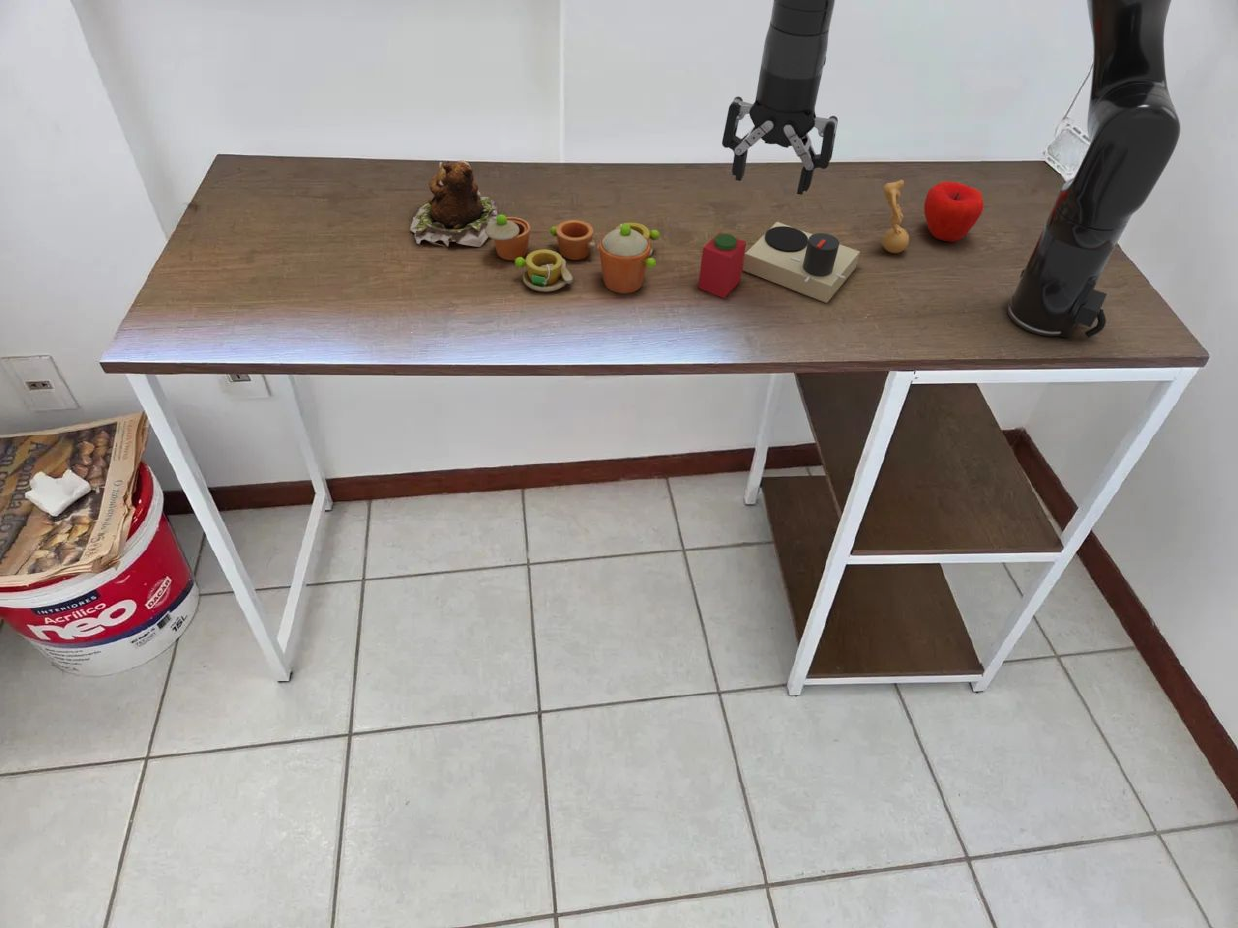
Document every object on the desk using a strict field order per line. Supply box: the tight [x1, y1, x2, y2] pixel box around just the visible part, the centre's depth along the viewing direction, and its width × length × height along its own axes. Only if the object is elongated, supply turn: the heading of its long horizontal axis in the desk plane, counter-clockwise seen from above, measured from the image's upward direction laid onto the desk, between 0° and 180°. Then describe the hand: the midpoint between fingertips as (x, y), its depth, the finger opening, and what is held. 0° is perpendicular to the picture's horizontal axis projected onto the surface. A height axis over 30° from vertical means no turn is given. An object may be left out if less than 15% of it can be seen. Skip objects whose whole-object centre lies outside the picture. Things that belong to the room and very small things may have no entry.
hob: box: [742, 221, 861, 304], centre depth 132 cm, size 15×12×3 cm
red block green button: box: [697, 231, 747, 299], centre depth 127 cm, size 4×5×8 cm
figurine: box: [881, 179, 910, 254], centre depth 133 cm, size 8×6×12 cm
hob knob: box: [803, 232, 840, 276], centre depth 127 cm, size 4×4×5 cm
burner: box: [764, 226, 808, 252], centre depth 133 cm, size 7×7×1 cm
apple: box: [923, 180, 985, 243], centre depth 139 cm, size 9×9×8 cm
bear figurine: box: [409, 159, 499, 248], centre depth 134 cm, size 14×15×12 cm
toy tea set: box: [485, 214, 660, 294], centre depth 128 cm, size 26×16×10 cm, turn 93°
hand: (770, 185), depth 118 cm, fingers open, 8 cm apart
